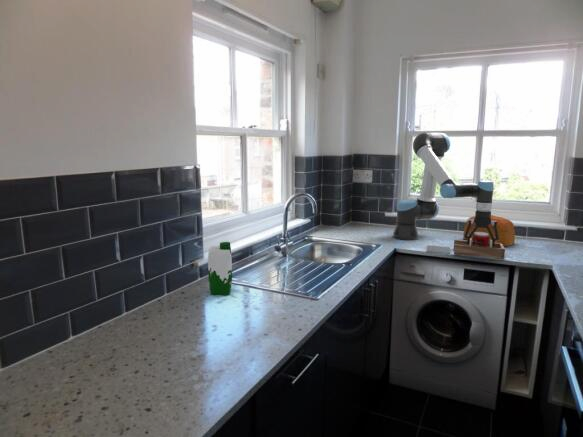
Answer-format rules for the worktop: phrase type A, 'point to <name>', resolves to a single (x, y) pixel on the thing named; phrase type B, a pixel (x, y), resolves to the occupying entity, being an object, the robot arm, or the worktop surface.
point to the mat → (438, 249)
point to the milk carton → (220, 269)
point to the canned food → (480, 239)
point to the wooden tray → (479, 249)
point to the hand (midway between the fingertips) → (479, 251)
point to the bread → (503, 229)
